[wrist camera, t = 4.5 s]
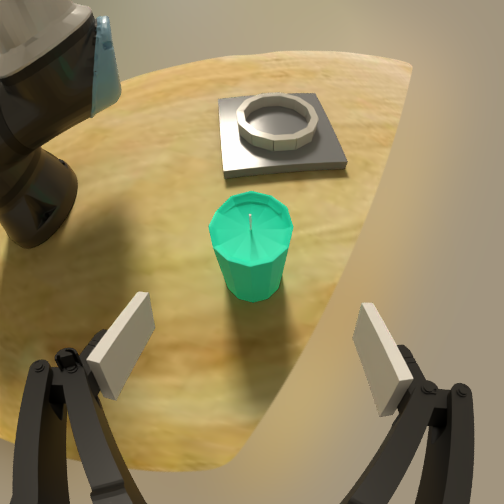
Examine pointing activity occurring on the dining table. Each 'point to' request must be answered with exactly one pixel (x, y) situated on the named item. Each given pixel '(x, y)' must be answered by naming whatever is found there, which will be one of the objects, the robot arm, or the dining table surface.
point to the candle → (251, 243)
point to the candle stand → (277, 135)
